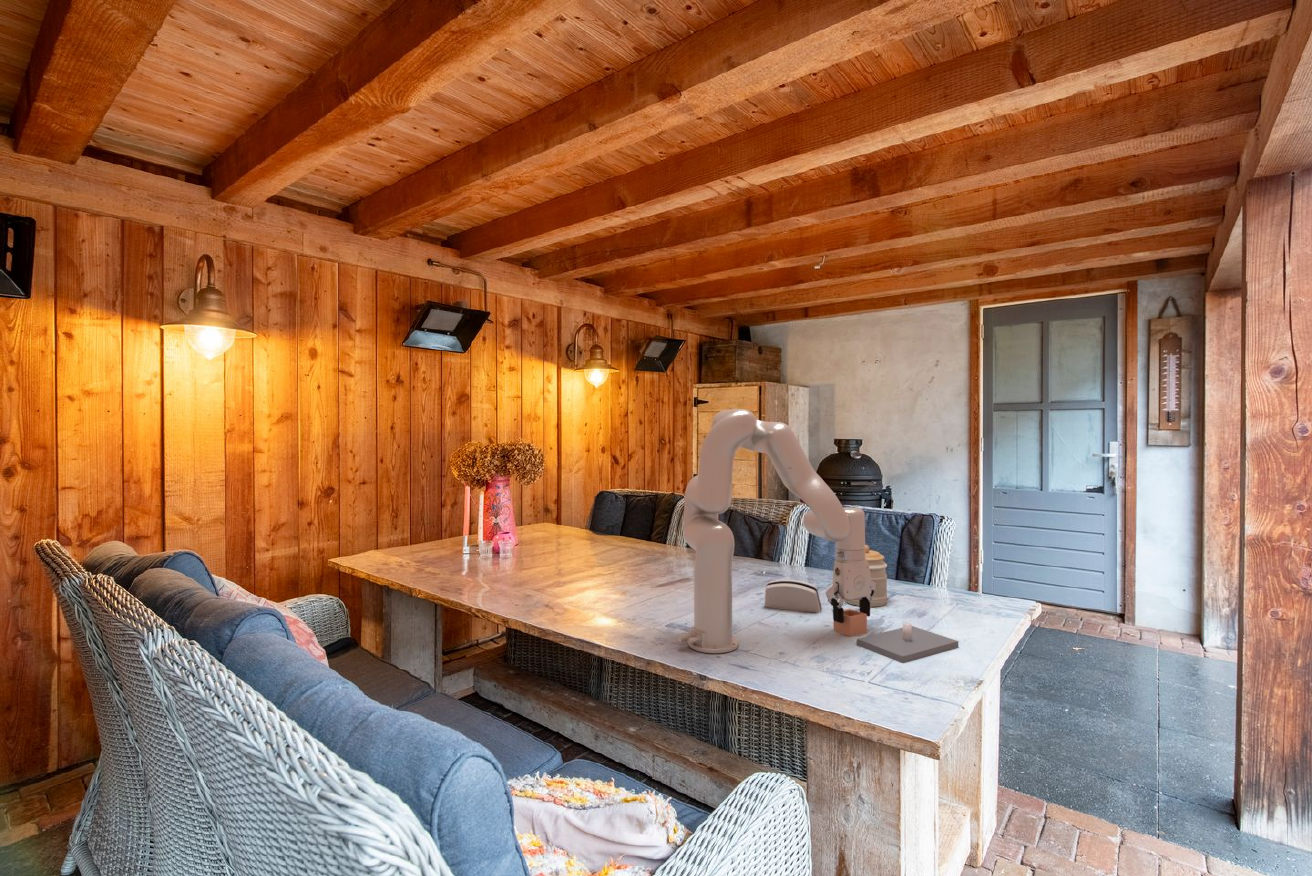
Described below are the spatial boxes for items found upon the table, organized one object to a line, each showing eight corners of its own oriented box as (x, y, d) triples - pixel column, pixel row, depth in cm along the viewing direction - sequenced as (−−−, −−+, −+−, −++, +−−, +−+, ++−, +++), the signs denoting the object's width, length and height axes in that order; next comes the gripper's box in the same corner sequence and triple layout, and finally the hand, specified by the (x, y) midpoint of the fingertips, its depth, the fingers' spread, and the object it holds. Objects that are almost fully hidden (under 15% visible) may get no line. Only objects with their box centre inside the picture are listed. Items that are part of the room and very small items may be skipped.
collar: (850, 636, 166) (850, 617, 166) (833, 630, 171) (833, 611, 171) (866, 633, 169) (866, 614, 169) (849, 626, 174) (849, 608, 174)
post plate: (902, 662, 148) (902, 639, 148) (856, 644, 160) (856, 622, 160) (958, 647, 158) (958, 625, 158) (911, 631, 170) (911, 610, 170)
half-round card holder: (822, 608, 192) (820, 579, 188) (820, 617, 188) (818, 588, 184) (767, 602, 198) (764, 574, 195) (764, 611, 194) (761, 583, 191)
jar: (873, 595, 206) (873, 540, 205) (895, 606, 193) (895, 548, 192) (835, 597, 203) (835, 542, 203) (855, 609, 191) (855, 550, 190)
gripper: (836, 561, 162) (838, 628, 163) (884, 552, 171) (885, 616, 171) (816, 556, 169) (817, 620, 169) (863, 548, 177) (864, 609, 178)
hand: (851, 618), depth 170 cm, fingers open, 9 cm apart
